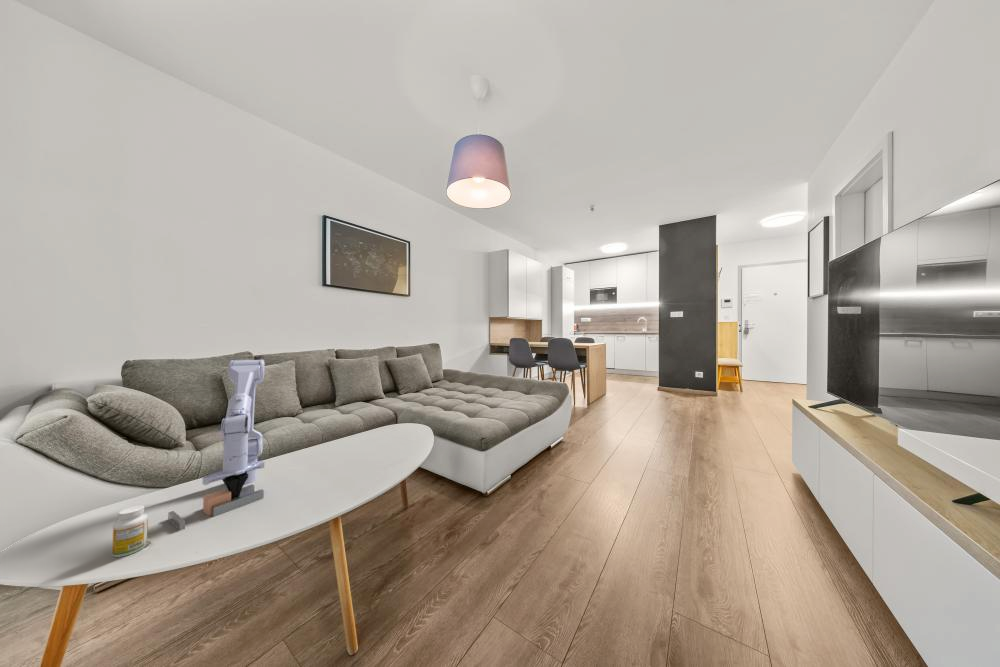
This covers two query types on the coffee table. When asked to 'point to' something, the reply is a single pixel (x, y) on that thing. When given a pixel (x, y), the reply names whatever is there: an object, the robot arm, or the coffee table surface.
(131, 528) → the supplement bottle
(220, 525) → the coffee table surface
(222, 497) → the block
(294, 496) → the coffee table surface
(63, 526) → the coffee table surface
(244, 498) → the chute
